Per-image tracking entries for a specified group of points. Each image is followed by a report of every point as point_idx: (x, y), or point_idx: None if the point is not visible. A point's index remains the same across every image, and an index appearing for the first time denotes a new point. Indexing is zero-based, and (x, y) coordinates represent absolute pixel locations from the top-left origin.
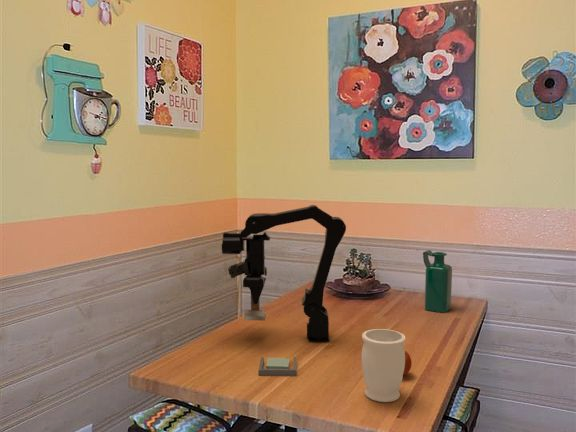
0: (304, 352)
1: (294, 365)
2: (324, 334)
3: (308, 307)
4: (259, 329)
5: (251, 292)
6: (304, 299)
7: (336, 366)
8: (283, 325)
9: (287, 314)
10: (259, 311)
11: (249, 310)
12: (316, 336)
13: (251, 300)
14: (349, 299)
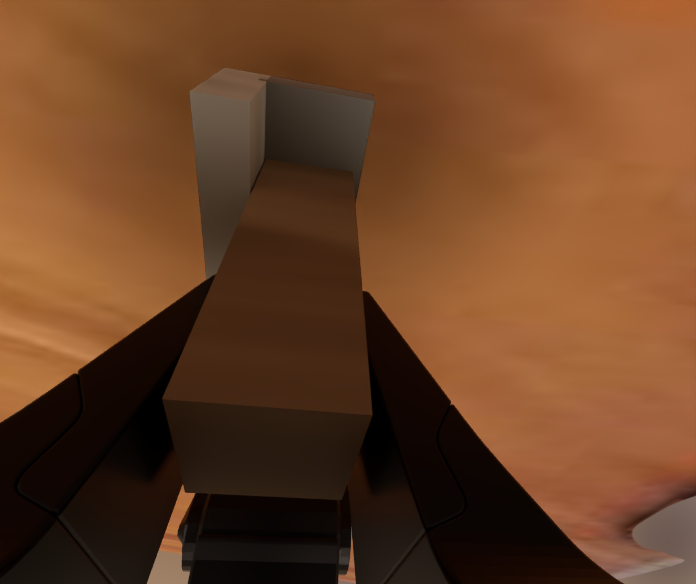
0: (116, 337)
1: None
2: None
3: (186, 538)
4: (486, 175)
5: (12, 425)
6: (228, 578)
7: (3, 399)
8: (501, 302)
9: (663, 334)
10: (208, 274)
11: (227, 170)
12: None
13: (221, 273)
14: (675, 496)
